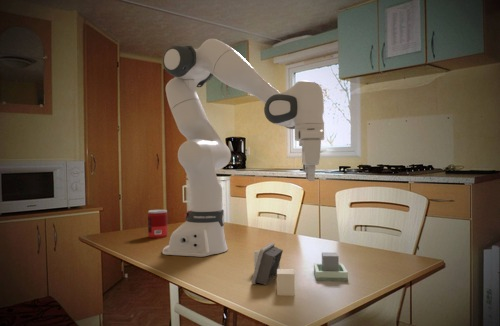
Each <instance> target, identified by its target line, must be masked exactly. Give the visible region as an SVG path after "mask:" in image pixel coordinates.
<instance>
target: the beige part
mask: <svg viewBox="0 0 500 326" xmlns="http://www.w3.org/2000/svg"><path fill="white" fill-rule="evenodd" d="M276 287H277V288H276V290H277V291H276V295H277V296H287V297H288V296H293V297H295V294H296V293H295V292H296V291H295V269H294V268H280V269H277V274H276Z"/></svg>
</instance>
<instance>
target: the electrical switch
mask: <svg viewBox="0 0 500 326" xmlns="http://www.w3.org/2000/svg"><path fill="white" fill-rule="evenodd" d="M259 251H260V252H259V256H258V259H257V263H256V267H255V266H254V271H253V275H252V279H251V284H253V285H254V286H255V285H256V284H257V283H258V284H261V285H264V286H267V285H268V284H269V283H270V282H272V281H273V280H274V279H275V278H277V269H278V266H279V263H280V262H281V258H282V255H283V251H284V250H283V249H282V248H278V247H277V246H275V243H274V242H270V243H269V244H267V245H266V246H264V247H261V248H260V250H259ZM274 260H275V262H274ZM273 262H274V263H273ZM280 264H281V263H280Z"/></svg>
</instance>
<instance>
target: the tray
mask: <svg viewBox="0 0 500 326" xmlns="http://www.w3.org/2000/svg"><path fill="white" fill-rule="evenodd" d="M313 273H314V276H315V280H316V281H319V282H320V281H321V282H322V281H324V282H325V281H326V282H328V281H329V282H330V281H331V282H333V281H334V282H337V281H338V282H345V281H346V282H348V281H349V272H348V269H347V268H346V267H345V265H344V263H339V271H322V263H313Z"/></svg>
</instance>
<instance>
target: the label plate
mask: <svg viewBox="0 0 500 326" xmlns="http://www.w3.org/2000/svg"><path fill="white" fill-rule="evenodd" d="M259 252H260V250H254V253H253V255H254V257H253V258H254V260H253V263H254V268H255V267H256V263H257V259H258V256H259ZM274 262H275V260H274ZM274 262H273V263H274ZM280 264H281V263H279V266H278V269H281V267H280V266H281V265H280Z"/></svg>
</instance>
